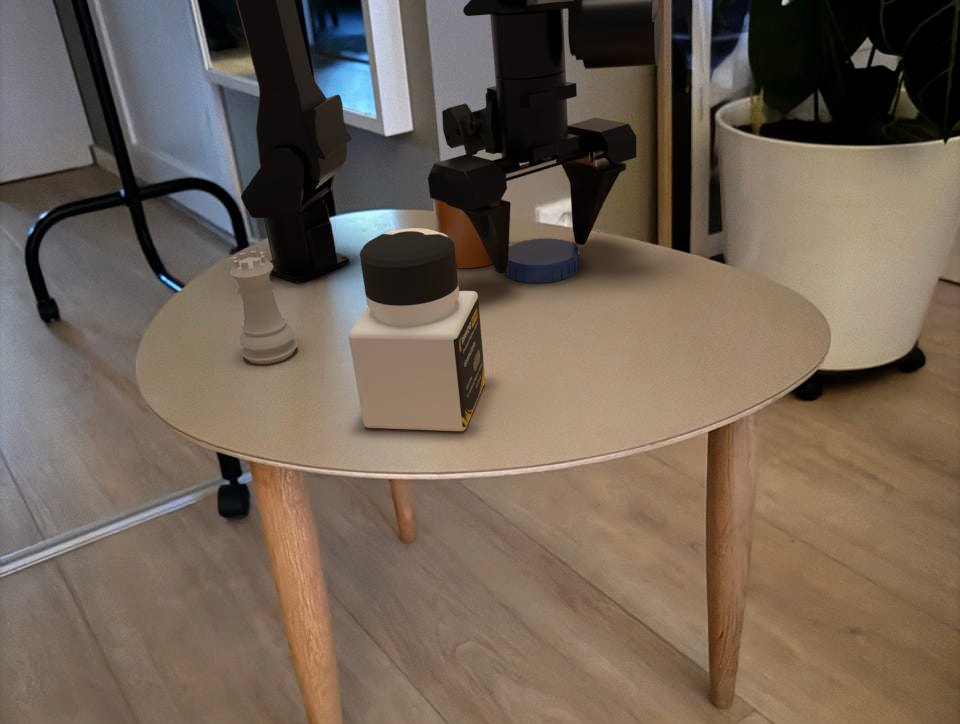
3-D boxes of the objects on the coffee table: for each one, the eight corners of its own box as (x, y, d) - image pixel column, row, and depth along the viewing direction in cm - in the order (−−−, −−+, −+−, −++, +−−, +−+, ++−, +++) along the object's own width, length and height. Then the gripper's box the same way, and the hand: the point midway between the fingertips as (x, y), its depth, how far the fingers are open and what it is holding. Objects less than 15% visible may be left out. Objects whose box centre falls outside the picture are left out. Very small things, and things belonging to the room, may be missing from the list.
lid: (586, 278, 81) (586, 260, 80) (509, 287, 81) (508, 268, 80) (571, 252, 87) (571, 234, 86) (500, 260, 86) (498, 242, 86)
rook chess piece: (282, 367, 71) (261, 268, 66) (232, 364, 72) (207, 266, 68) (308, 343, 74) (289, 247, 70) (259, 339, 76) (237, 245, 71)
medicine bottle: (465, 433, 60) (447, 258, 54) (362, 429, 62) (333, 258, 55) (486, 382, 66) (472, 218, 59) (392, 380, 68) (368, 219, 61)
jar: (425, 259, 88) (415, 171, 84) (471, 240, 92) (464, 154, 87) (472, 273, 84) (464, 181, 80) (519, 252, 88) (513, 162, 83)
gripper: (554, 45, 84) (562, 214, 92) (381, 85, 76) (407, 266, 84) (641, 54, 76) (640, 237, 85) (457, 99, 68) (478, 298, 76)
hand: (541, 258), depth 83 cm, fingers open, 9 cm apart
